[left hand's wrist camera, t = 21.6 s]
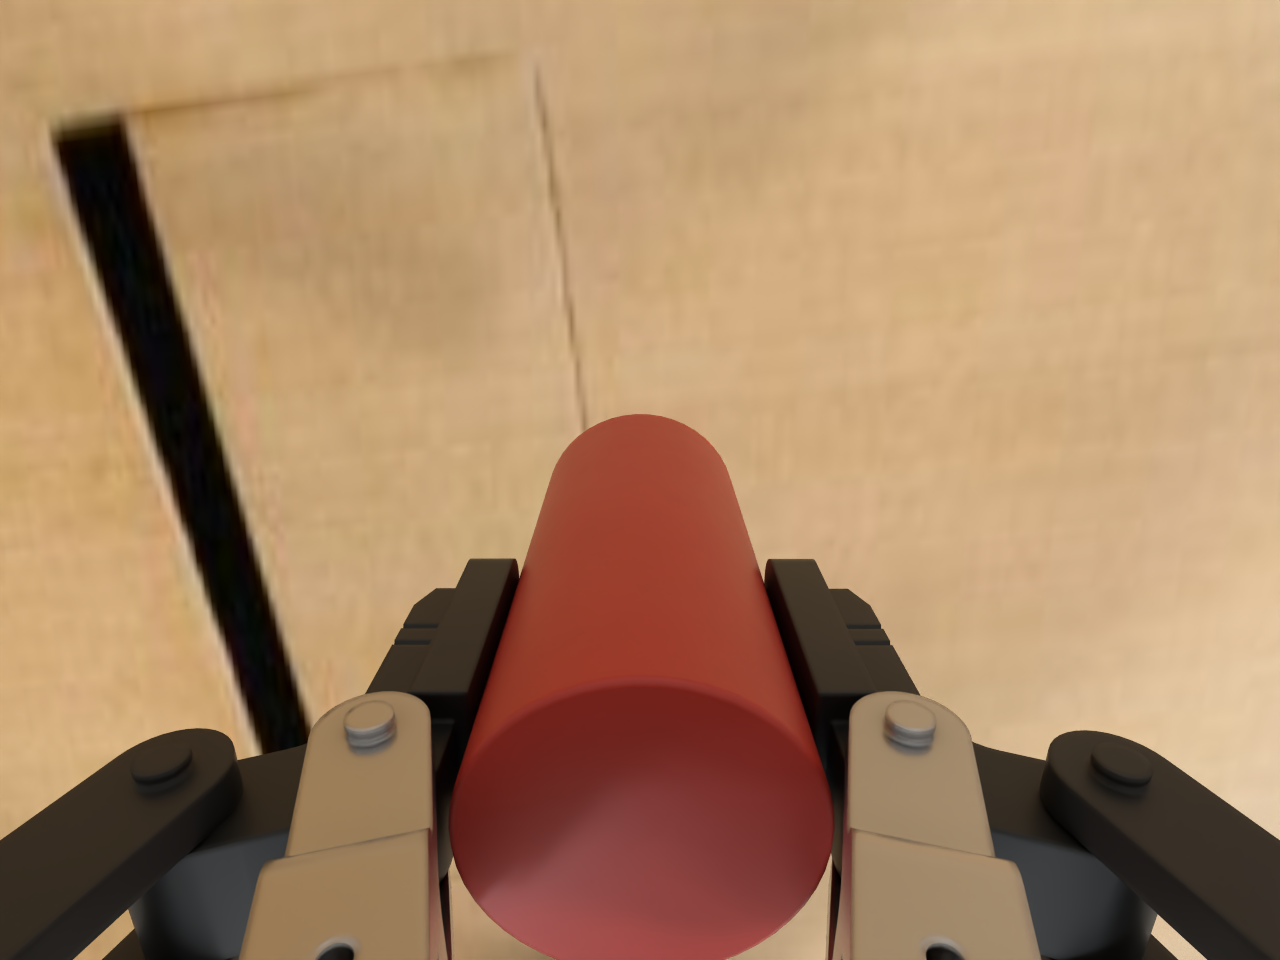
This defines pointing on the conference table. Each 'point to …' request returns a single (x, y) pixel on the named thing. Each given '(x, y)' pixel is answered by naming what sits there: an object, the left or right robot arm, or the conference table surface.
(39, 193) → the conference table surface
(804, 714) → the can
